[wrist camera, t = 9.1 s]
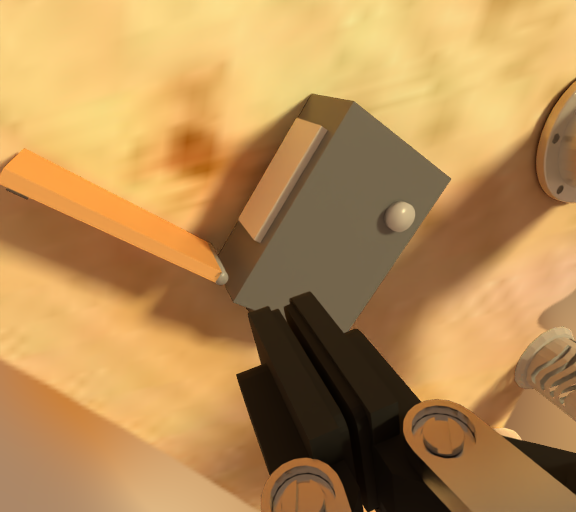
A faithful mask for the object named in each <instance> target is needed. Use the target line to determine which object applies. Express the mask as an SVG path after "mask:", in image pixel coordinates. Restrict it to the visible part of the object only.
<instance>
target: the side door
mask: <svg viewBox="0 0 576 512" xmlns="http://www.w3.org/2000/svg"><path fill="white" fill-rule="evenodd" d="M0 185H3V186H5V187H7V189H6V190H7V191H9V192H12V193H14V194H16V195H18V196H20V197H23V198H25V199H28V198H31V199H33V200H35V201H38V202H40V203H42V204H44V205H46V206H49V207H51V208H53V209H55V210H57V211H60V212H62V213H64V214H66V215H68V216H71V217H73V218H75V219H77V220H79V221H81V222H84V223H86V224H88V225H90V226H92V227H95V228H97V229H99V230H101V231H103V232H106V233H108V234H110V235H112V236H114V237H116V238H119V239H121V240H123V241H125V242H127V243H130V244H132V245H134V246H136V247H138V248H141V249H143V250H145V251H147V252H149V253H151V254H154V255H156V256H158V257H160V258H162V259H165V260H167V261H169V262H171V263H173V264H176V265H178V266H180V267H182V268H184V269H186V270H189V271H191V272H193V273H195V274H197V275H200V276H202V277H204V278H206V279H208V280H211V281H213V282H215V283H216V284H217V285H224V284H225V283H226V282H227V281H228V275H227V273H226V271H225V269H224V267H223V265H222V263H221V261H220V259H219V257H218V255H217V253H216V251H215V249H214V247H213V245H212V244H211V243H210V242H207V241H205V240H203V239H201V238H199V237H197V236H195V235H193V234H191V233H189V232H187V231H185V230H183V229H181V228H179V227H177V226H175V225H173V224H171V223H169V222H167V221H166V220H164V219H162V218H160V217H158V216H156V215H154V214H152V213H150V212H148V211H146V210H144V209H142V208H140V207H138V206H136V205H134V204H132V203H130V202H128V201H126V200H124V199H123V198H121V197H119V196H117V195H115V194H113V193H111V192H109V191H107V190H105V189H103V188H101V187H99V186H97V185H95V184H93V183H91V182H89V181H87V180H85V179H83V178H81V177H80V176H78V175H76V174H74V173H72V172H70V171H68V170H66V169H64V168H62V167H60V166H58V165H56V164H54V163H52V162H50V161H48V160H46V159H44V158H42V157H40V156H38V155H36V154H35V153H33V152H31V151H29V150H27V149H25V148H24V149H23V150H22V151H21V152H20V153H19V154H18V155H17V156H16V157H14V158H13V159H12V160H11V161H10V162H9V163H8V164H7V165H6V166H5V167H4V168H3V170H2V172H1V174H0Z"/></svg>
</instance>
